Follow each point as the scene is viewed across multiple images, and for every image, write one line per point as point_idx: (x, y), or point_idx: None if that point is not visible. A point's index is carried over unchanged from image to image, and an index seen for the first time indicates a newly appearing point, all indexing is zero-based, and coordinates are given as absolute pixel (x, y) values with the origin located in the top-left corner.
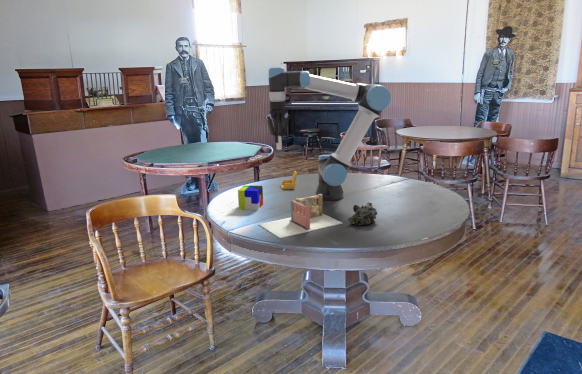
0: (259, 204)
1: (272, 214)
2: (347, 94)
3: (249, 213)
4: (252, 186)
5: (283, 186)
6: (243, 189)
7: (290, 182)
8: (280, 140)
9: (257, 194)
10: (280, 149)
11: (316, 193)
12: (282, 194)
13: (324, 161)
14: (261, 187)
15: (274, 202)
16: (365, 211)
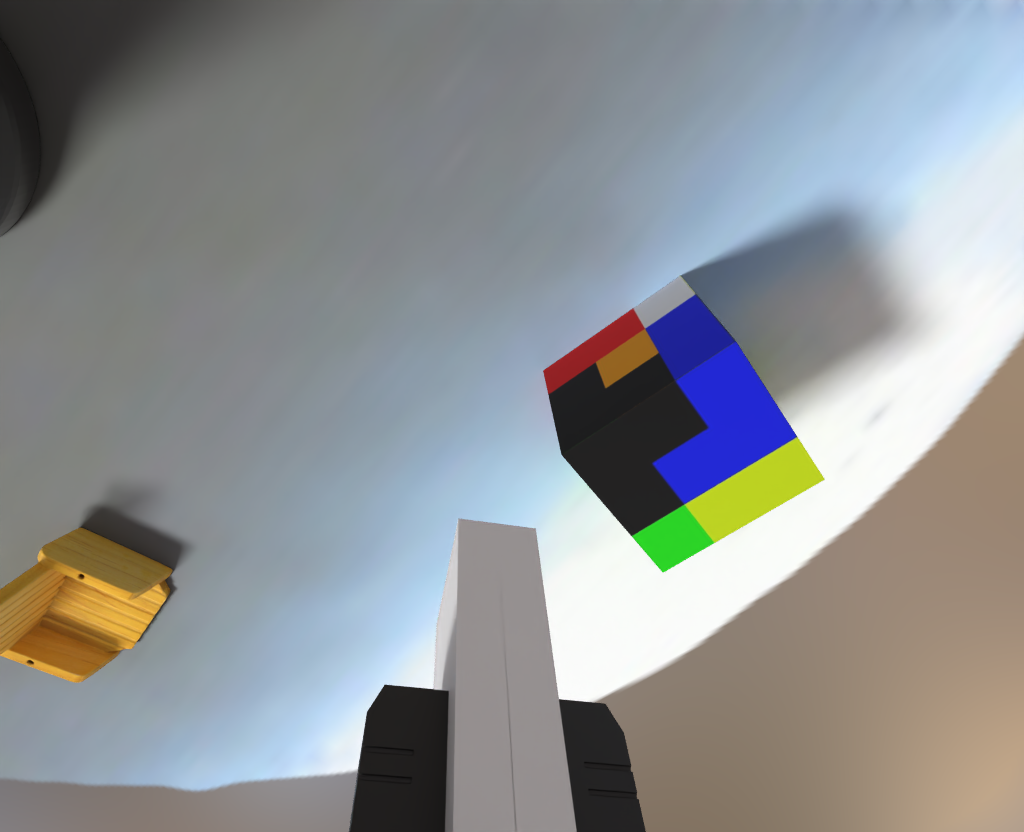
0: (645, 316)
1: (691, 78)
2: None
3: (786, 254)
4: (641, 496)
5: (133, 608)
6: (771, 470)
7: (35, 636)
8: (496, 729)
9: (717, 329)
10: (495, 526)
11: (10, 180)
12: (254, 471)
13: None
14: (592, 429)
15: (444, 346)
16: None
